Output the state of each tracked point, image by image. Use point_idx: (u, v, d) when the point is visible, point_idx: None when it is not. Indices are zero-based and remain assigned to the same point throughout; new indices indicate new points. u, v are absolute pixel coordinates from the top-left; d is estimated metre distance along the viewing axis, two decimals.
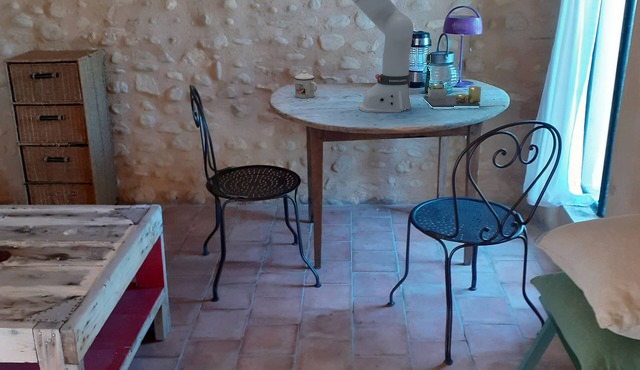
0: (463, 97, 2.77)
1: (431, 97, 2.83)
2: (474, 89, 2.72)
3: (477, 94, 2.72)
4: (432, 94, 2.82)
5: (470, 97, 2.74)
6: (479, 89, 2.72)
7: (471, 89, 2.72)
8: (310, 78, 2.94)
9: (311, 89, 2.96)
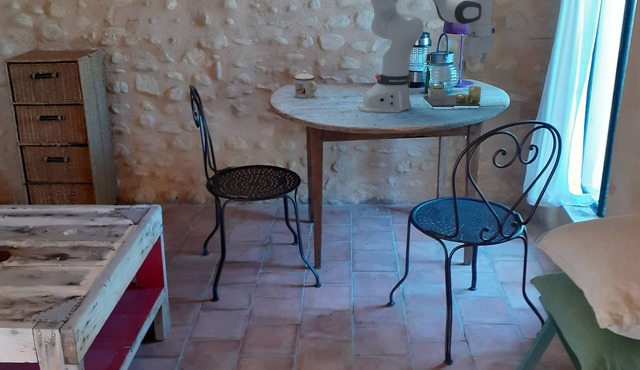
0: (463, 97, 2.77)
1: (431, 97, 2.83)
2: (474, 89, 2.72)
3: (477, 94, 2.72)
4: (432, 94, 2.82)
5: (470, 97, 2.74)
6: (479, 89, 2.72)
7: (471, 89, 2.72)
8: (310, 78, 2.94)
9: (311, 89, 2.96)
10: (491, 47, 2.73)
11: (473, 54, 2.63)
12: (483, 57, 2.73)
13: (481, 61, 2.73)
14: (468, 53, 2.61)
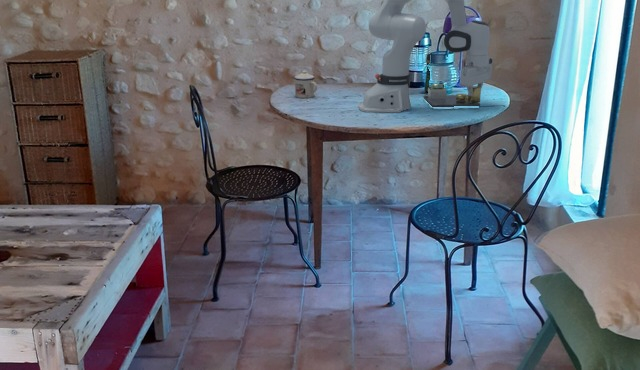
0: (463, 97, 2.77)
1: (431, 97, 2.83)
2: (474, 89, 2.72)
3: (477, 94, 2.72)
4: (432, 94, 2.82)
5: (470, 97, 2.74)
6: (479, 89, 2.72)
7: None
8: (310, 78, 2.94)
9: (311, 89, 2.96)
10: (488, 77, 2.77)
11: (470, 84, 2.67)
12: None
13: None
14: (466, 83, 2.65)
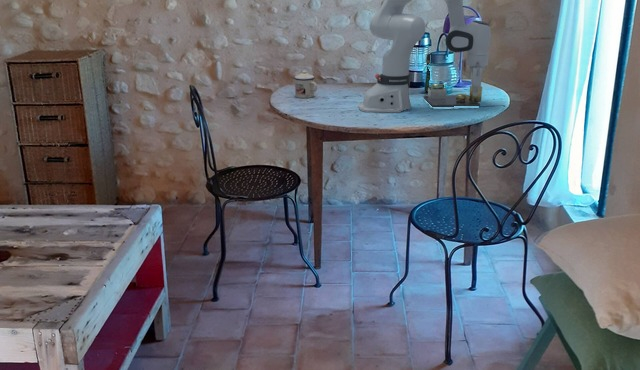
0: (464, 97, 2.77)
1: (431, 97, 2.83)
2: None
3: (479, 94, 2.73)
4: (432, 94, 2.82)
5: (472, 97, 2.74)
6: (481, 88, 2.73)
7: None
8: (310, 78, 2.94)
9: (311, 89, 2.96)
10: None
11: None
12: None
13: None
14: (479, 84, 2.65)
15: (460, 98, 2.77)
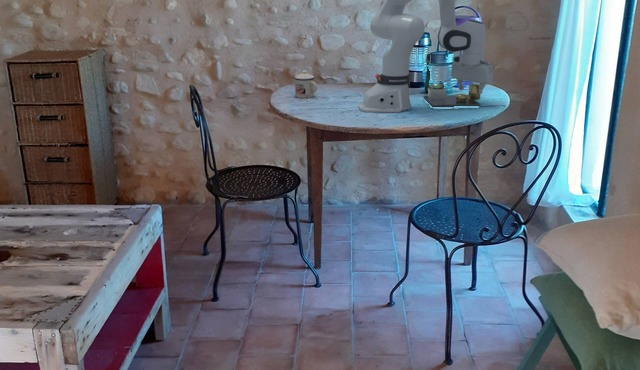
0: (466, 96, 2.78)
1: (431, 97, 2.83)
2: (479, 86, 2.77)
3: None
4: (432, 94, 2.82)
5: (476, 95, 2.78)
6: None
7: (477, 87, 2.77)
8: (310, 78, 2.94)
9: (311, 89, 2.96)
10: None
11: None
12: (461, 84, 2.84)
13: (462, 88, 2.84)
14: (492, 80, 2.72)
15: (464, 98, 2.77)
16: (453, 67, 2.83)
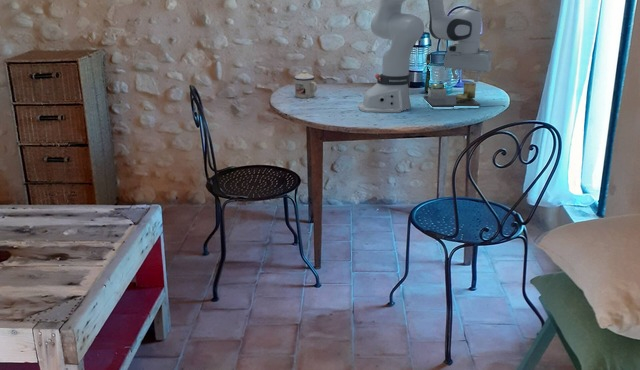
0: None
1: (431, 97, 2.83)
2: (475, 84, 2.81)
3: None
4: (432, 94, 2.82)
5: (473, 93, 2.81)
6: None
7: (474, 85, 2.80)
8: (310, 78, 2.94)
9: (311, 89, 2.96)
10: None
11: None
12: (454, 74, 2.83)
13: (456, 78, 2.83)
14: (490, 68, 2.76)
15: (466, 98, 2.78)
16: (447, 57, 2.81)
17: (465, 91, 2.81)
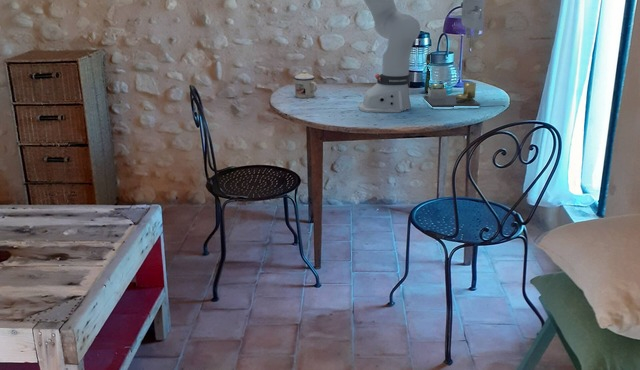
0: None
1: (431, 97, 2.83)
2: (475, 84, 2.81)
3: None
4: (432, 94, 2.82)
5: (473, 93, 2.81)
6: None
7: (474, 85, 2.80)
8: (310, 78, 2.94)
9: (311, 89, 2.96)
10: None
11: None
12: (468, 32, 2.80)
13: (468, 36, 2.79)
14: (482, 27, 2.64)
15: (466, 98, 2.78)
16: (462, 14, 2.80)
17: (465, 91, 2.81)
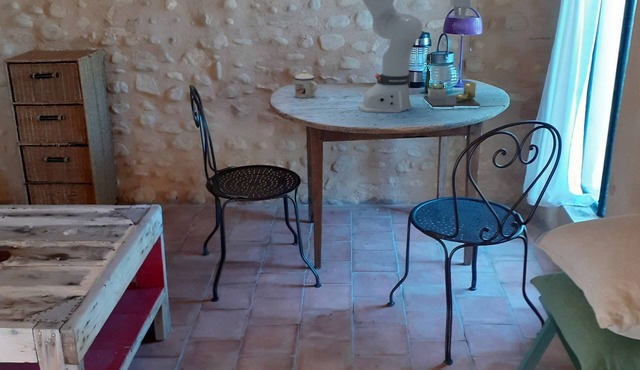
0: None
1: (431, 97, 2.83)
2: (475, 84, 2.81)
3: None
4: (432, 94, 2.82)
5: (473, 93, 2.81)
6: None
7: (474, 85, 2.80)
8: (310, 78, 2.94)
9: (311, 89, 2.96)
10: None
11: None
12: (456, 10, 2.86)
13: (456, 14, 2.86)
14: (469, 4, 2.71)
15: (466, 98, 2.78)
16: None
17: (465, 91, 2.81)
